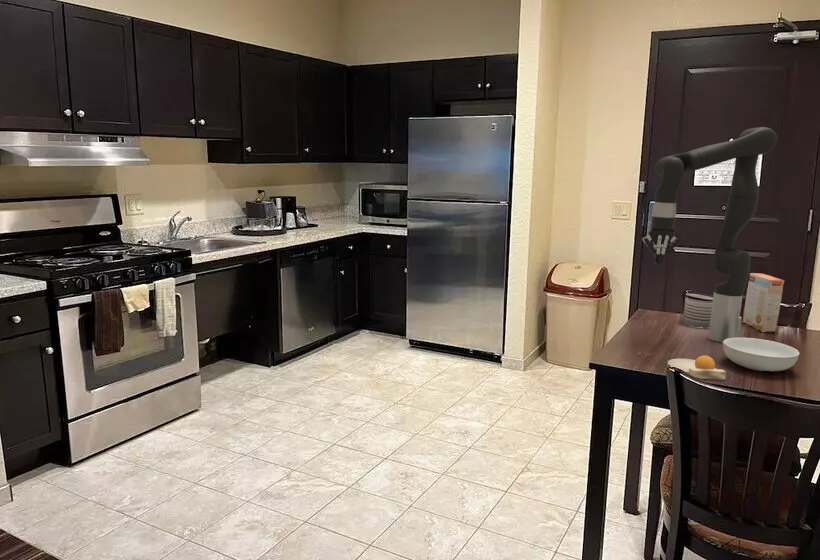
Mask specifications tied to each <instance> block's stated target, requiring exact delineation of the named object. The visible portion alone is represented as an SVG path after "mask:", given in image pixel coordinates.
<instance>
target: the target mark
mask: <svg viewBox="0 0 820 560" xmlns="http://www.w3.org/2000/svg"><path fill="white" fill-rule="evenodd" d="M695 361H696V359H689V358H672V359H669V360H668V361H667V366H669V365H670V366H669V367H671V368H672V367H676V368H679V369H681V370H683V371H684V372H683V371H682V372H683V373H688V374H689V368H696V367H695ZM714 369H717V368H716V367H715V368H714Z"/></svg>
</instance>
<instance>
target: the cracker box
mask: <svg viewBox="0 0 820 560" xmlns="http://www.w3.org/2000/svg"><path fill="white" fill-rule="evenodd" d="M784 284H785V280H784V279H781V278H778V277H775V276H772V275H769V274H766V273H756V272H751V273H750V272H749V275H748V282H747V289H746V297H745V303H744V308H743V314H742V316H743V317H742V320H741V323H742V322H743V323H747V324H750V325H752V326H753V327H755V328H757V329H759V330H761V331H776V332H777V327H778V321H779V314H780V309H781V304H782V303H781V302H782V296H783V290H784ZM743 323H742V324H743Z"/></svg>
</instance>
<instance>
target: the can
mask: <svg viewBox="0 0 820 560" xmlns="http://www.w3.org/2000/svg"><path fill="white" fill-rule="evenodd" d="M712 303H713V296H708V295H704V294H703V295H702V294H699V293H698V294H697V293H685V299H684V307H683V314H682V315H683V316H682V322H683V323H684V324H683V323H682V324H683V325H685V324H686V325H685V326H687V325H689V326H688V327H690V326H694V327H703V328H708V327H709V325H710V317H711V310H712ZM694 327H693V328H694ZM708 329H709V328H708Z"/></svg>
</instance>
